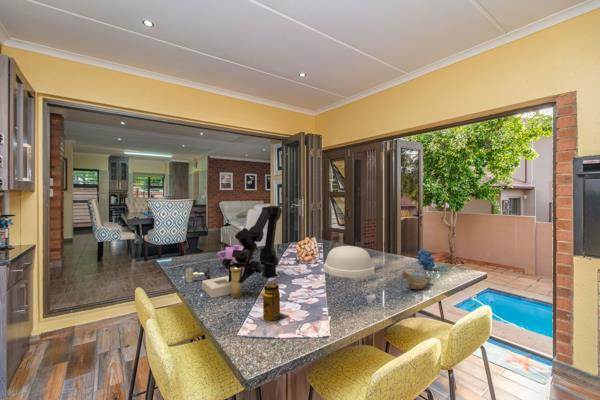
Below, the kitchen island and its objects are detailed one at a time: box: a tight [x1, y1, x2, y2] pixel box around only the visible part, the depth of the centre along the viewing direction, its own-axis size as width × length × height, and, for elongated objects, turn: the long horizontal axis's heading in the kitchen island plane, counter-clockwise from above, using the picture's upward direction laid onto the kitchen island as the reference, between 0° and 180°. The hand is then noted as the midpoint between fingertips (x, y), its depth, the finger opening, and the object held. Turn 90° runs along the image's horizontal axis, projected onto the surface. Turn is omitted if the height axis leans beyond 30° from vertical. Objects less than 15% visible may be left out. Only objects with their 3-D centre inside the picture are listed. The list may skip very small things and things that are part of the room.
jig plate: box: [201, 275, 231, 299], centre depth 128 cm, size 14×14×4 cm
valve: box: [184, 267, 211, 283], centre depth 143 cm, size 7×7×12 cm
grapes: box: [416, 248, 436, 271], centre depth 164 cm, size 12×7×12 cm, turn 32°
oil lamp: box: [401, 270, 432, 290], centre depth 132 cm, size 9×21×10 cm, turn 123°
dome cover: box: [323, 245, 376, 279], centre depth 163 cm, size 32×30×14 cm
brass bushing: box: [230, 266, 244, 299], centre depth 120 cm, size 5×5×13 cm
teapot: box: [216, 244, 245, 273], centre depth 169 cm, size 15×25×14 cm, turn 105°
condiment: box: [258, 283, 289, 325], centre depth 100 cm, size 7×8×12 cm
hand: (234, 282), depth 119 cm, fingers open, 5 cm apart
